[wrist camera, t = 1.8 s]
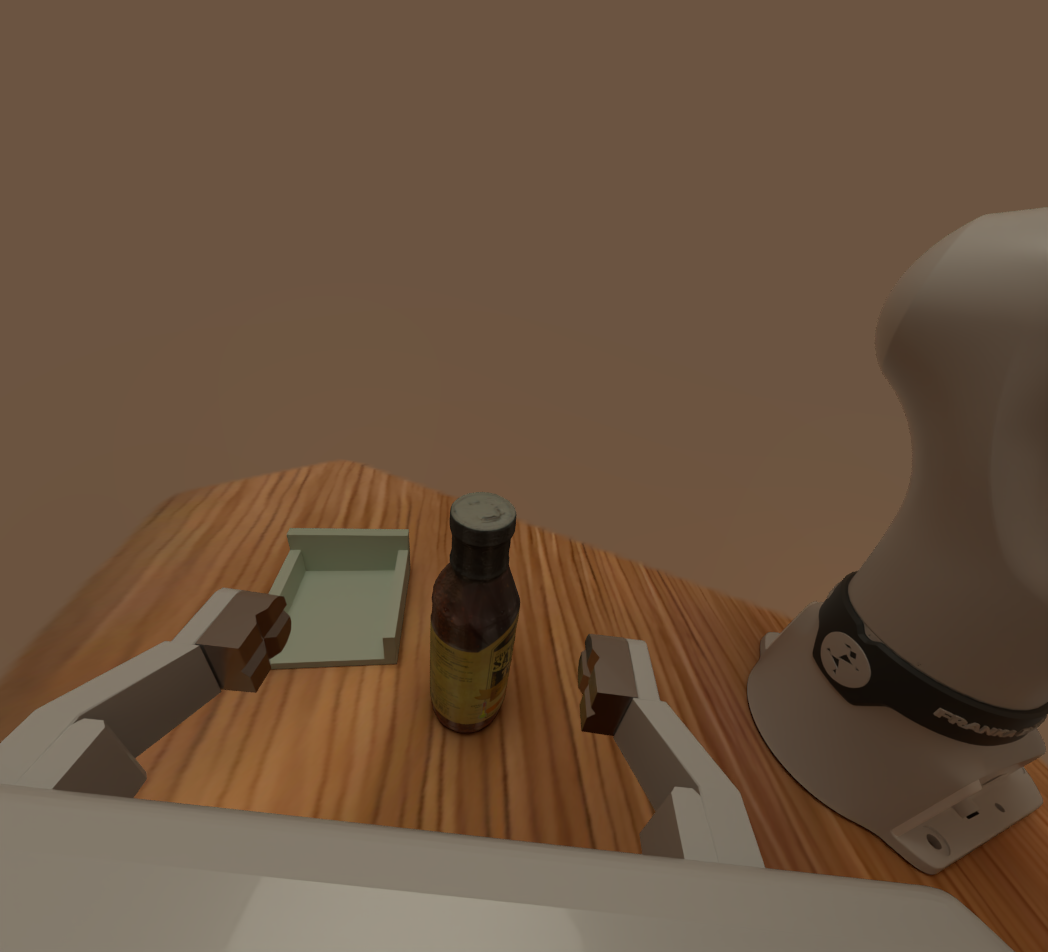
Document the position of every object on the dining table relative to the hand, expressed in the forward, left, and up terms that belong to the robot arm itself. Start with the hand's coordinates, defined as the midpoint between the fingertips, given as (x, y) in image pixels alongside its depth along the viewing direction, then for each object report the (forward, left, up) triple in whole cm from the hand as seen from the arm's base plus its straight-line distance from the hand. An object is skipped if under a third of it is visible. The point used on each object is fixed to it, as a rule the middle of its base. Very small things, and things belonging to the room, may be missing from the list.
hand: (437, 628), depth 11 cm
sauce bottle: (-2, -12, -26) cm, 28 cm away
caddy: (+10, -21, -25) cm, 34 cm away
